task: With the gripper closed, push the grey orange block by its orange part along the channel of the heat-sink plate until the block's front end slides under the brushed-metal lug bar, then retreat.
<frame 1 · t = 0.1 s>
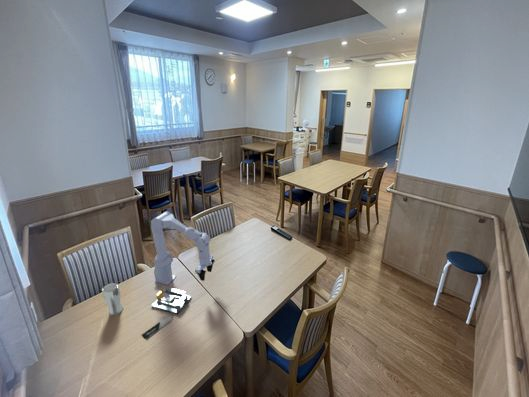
hand: (206, 275, 139), 10 cm above the table, fingers open, 7 cm apart
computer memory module: (158, 327, 120), on the table
grey orange block: (165, 296, 133), point 3 cm above the table, slide at 0.0 cm
heatsink plate: (171, 302, 133), on the table
beer glass: (116, 311, 128), on the table
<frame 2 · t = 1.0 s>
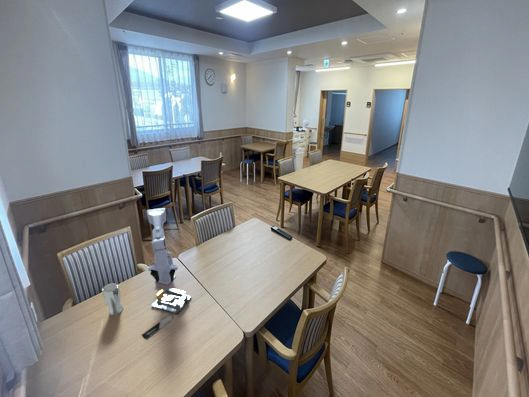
hand: (165, 280, 134), 10 cm above the table, fingers open, 7 cm apart
nothing on the table moved.
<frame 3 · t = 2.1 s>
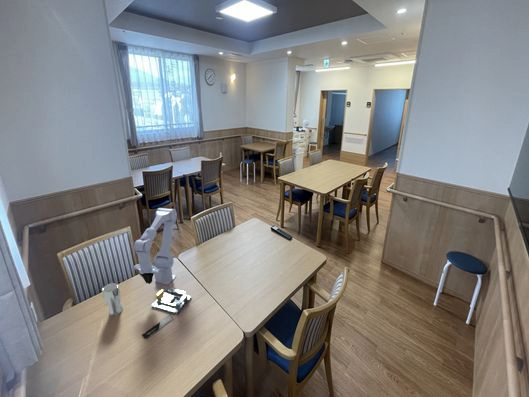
hand: (149, 282, 133), 10 cm above the table, fingers closed
nothing on the table moved.
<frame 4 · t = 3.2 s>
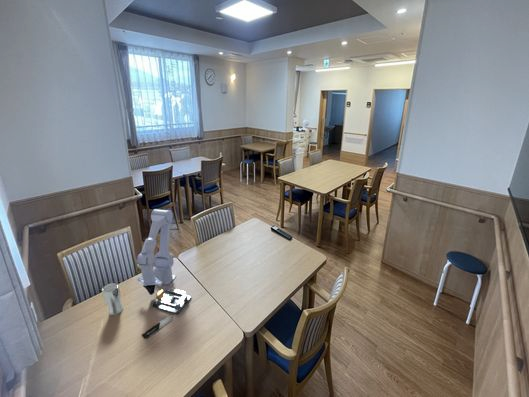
hand: (152, 293, 136), 3 cm above the table, fingers closed
nothing on the table moved.
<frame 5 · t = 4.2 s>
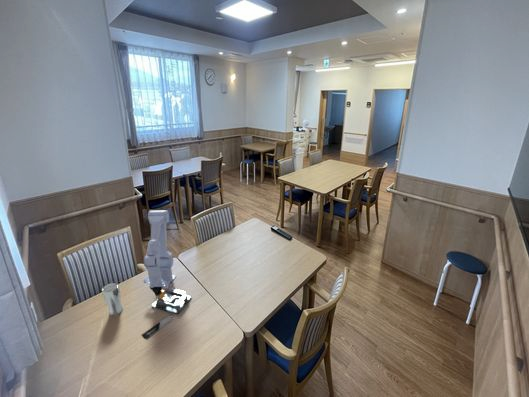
hand: (158, 295, 135), 3 cm above the table, fingers closed
grey orange block: (166, 296, 133), point 3 cm above the table, slide at 0.7 cm, touching gripper
everything else where it was.
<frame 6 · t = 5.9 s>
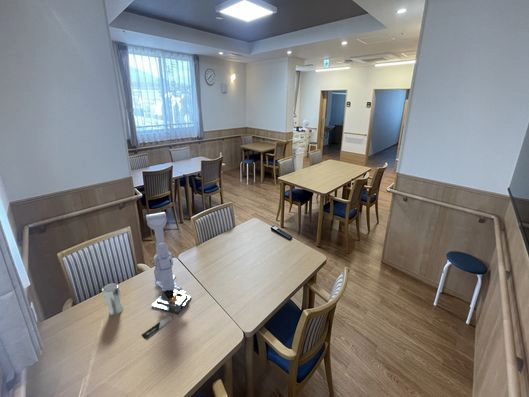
hand: (170, 298, 133), 3 cm above the table, fingers closed
grey orange block: (179, 300, 131), point 3 cm above the table, slide at 8.3 cm, touching gripper
everything else where it was.
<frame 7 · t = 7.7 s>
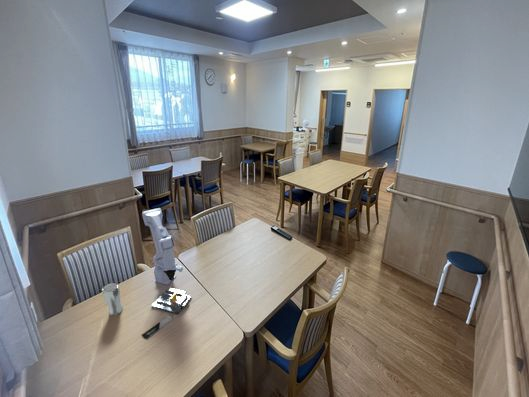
hand: (171, 279, 135), 10 cm above the table, fingers closed
grey orange block: (179, 300, 131), point 3 cm above the table, slide at 8.3 cm
everything else where it was.
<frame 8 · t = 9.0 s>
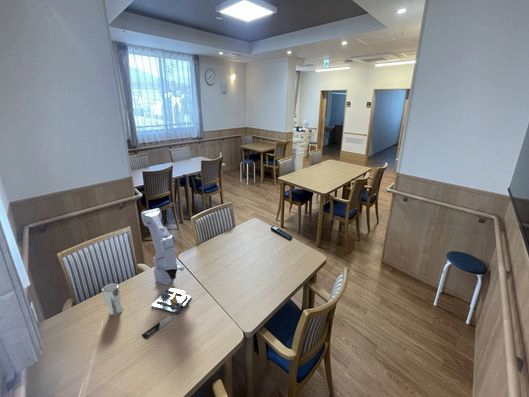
hand: (173, 278, 136), 10 cm above the table, fingers closed
nothing on the table moved.
at the end: grey orange block slide at 8.3 cm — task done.
